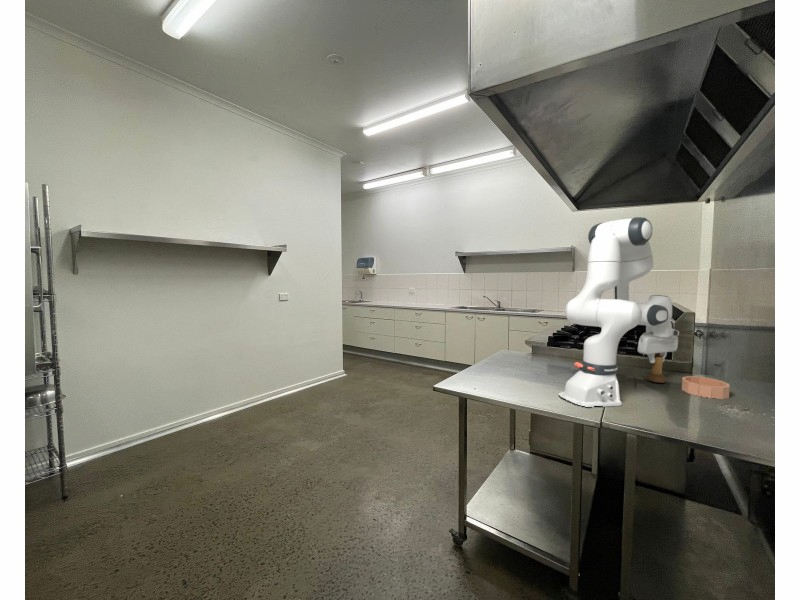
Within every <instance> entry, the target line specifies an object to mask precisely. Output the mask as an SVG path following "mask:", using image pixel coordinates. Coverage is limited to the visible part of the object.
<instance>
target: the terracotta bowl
mask: <svg viewBox="0 0 800 600" xmlns="http://www.w3.org/2000/svg"><path fill="white" fill-rule="evenodd" d="M681 381H682V382H681V391H683V392H685V393H687V394H688V395H689V394H690V395H693V396H696V395H697V396H696V397H700V396H702V398H706V397H708V398H707V399H712V398H716V399H717V400H725V399H730V392H731V391H730V389H731V386H730V383H727V382H725V381H723V380H721V379H720V380H719V379H715V378H712V377H711V378H710V377H704V376H695V375H687V376H683V377H682V379H681Z"/></svg>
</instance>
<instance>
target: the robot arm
mask: <svg viewBox="0 0 800 600" xmlns="http://www.w3.org/2000/svg"><path fill="white" fill-rule="evenodd" d="M652 235H653V225H652V223H651V221H650V220H649V219H647V218H646V217H643V216H642V217H641V216H639V217H638V216H636V217H633V218H621V219H614V220H610V221H606V222H600V223H597V224H594V225H593V226H592V227H591V228H590V230H589V231H588V235H587V237H588V238H587V239H588V243H589V244H590V245H589V250H588V256H587V266H586V276H585V282H584V285H583V287H582V289H581V290H580V292H578V294H577V295H576V296H575V297H573V298H572V299H570V300H568V302H567V303H566V305H565V308H564V315H565V317H566V319H567V321H569V322H570V323H573V324H575V325H580V326H587V327H596V328H597V327H599V328H601V331H600V333H597V334H593V335H591V336H589V337H588V338H586V339H585V340H584V343H583V359H582V361H581V362H578V361H576V362H575V363H574V364H573V365H574V367H575V368H579V370H578V371H577V372H575V373H574V374H573V375H572V377H569V379H568V380H567V381H566V382H565V387H564V391H561V392H558V394H559V395H560V396H561V397H563V398H565V399H566V400H569V401H571V402H573V403H575V404H578V405H581V406H585V407H592V408H595V407H594V406H603V407H604V408H605V407H619V406H620V407H621V406H622V405H623V404H622V401H621V397H620V386H619V381H618V377H617V374H618V369H619V368H618V363H617V355H618V347H619V344H620V341H621V339H622V337H623V336H624V335H625V334H626V333H627V332H628V331H630V330H632V329H634V328H635V327H637V326H645V332H643V333H642V334H641V335H640V337H639V340H638V344H637V345H638V346H637V352H638V353H639V354H642V355H647V357H648V360H649V363H650V364H651V363H656V359H655V358H654V356H655V353H660V355H659V356H663V363H665V358H667V354H668V353H672V352H676V351H677V350H678V347H679V346H678V345H679V337H678V336H679V335H680V330H677V329H674V328H673V325H672V322H671V321H672V318H673V302H672V298H671V297H670V296H669V295H663V294H662V295H661V294H652V295H649V297H648V301H646V302H635V301H631V300H630V288H629V287H630V286H629V285H630V283H631V282H632V281H634V280H638V279H640V278H643V277H644V276H645V275H648V274H649V273H650V272H651V271H652V269H653V267H654V257H653V252H652V248H651V244H650V239H651V238H652ZM613 288H614V298H602V295H603V293H604V292H606V291H608V290H611V289H613ZM558 394H557V395H558ZM581 406H580V407H581ZM585 407H584V408H585ZM603 407H602V408H603Z"/></svg>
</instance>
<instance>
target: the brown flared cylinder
mask: <svg viewBox="0 0 800 600" xmlns="http://www.w3.org/2000/svg"><path fill="white" fill-rule="evenodd" d="M654 358H655V359H656V363H650V372H648V373H647V374H646V380H647V381H650V382H653V383H660V384H662V383H666V376H665V375H664V374H663V363H664V362H663V356H660V353H655V356H654Z"/></svg>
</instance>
